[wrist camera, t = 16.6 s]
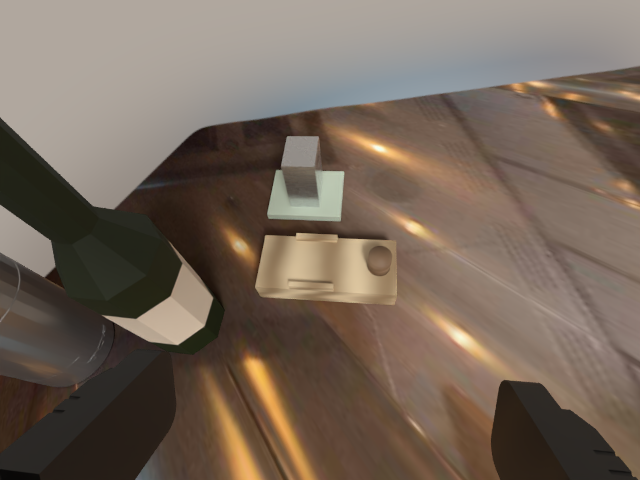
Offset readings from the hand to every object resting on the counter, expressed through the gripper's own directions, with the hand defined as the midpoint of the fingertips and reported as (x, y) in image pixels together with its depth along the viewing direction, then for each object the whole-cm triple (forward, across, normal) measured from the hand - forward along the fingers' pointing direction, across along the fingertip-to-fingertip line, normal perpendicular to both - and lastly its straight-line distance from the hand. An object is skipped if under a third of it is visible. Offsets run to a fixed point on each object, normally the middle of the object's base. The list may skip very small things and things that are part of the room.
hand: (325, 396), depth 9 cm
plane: (+34, +3, +9) cm, 36 cm away
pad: (+43, +7, +1) cm, 43 cm away
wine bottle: (+29, +19, +14) cm, 38 cm away
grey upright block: (+42, +7, 0) cm, 42 cm away
